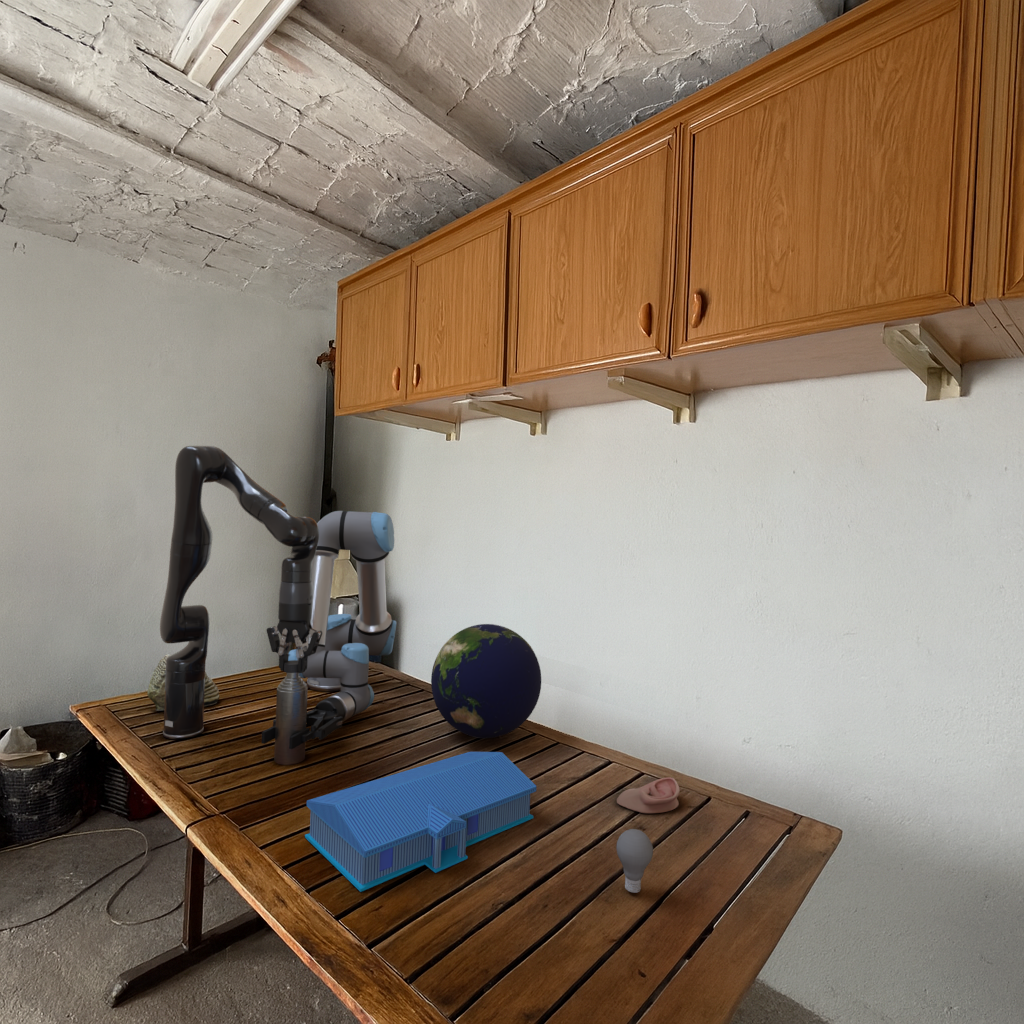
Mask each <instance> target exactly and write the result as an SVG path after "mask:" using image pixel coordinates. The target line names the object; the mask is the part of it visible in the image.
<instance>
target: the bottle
mask: <svg viewBox="0 0 1024 1024" xmlns="http://www.w3.org/2000/svg"><path fill="white" fill-rule="evenodd" d="M303 679H304V678H301V677H300V676H299V673H286V676H284V678H283V679H282V681H280V683H279V684H278V685H277V688H276V703H275V719H276V726H275V739H274V756H273V757H274V758H273V761H274V763H276V764H277V765H282V766H291V765H296V764H300V763H301V762H304V760H305V759H306V743H307V742H304V743H302V744H300V745H299V746H297V747H295V748H293V749H289V739H290V737H291V736H293V735H295V734H296V733H298V732H300V731H302V730H304V729H306V728H307V727H306V724H307V723H306V718H307V712H308V711H307V710H308V692H309V690H308V689H309V688H308V687H307V682H306V681H304V680H303Z"/></svg>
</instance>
